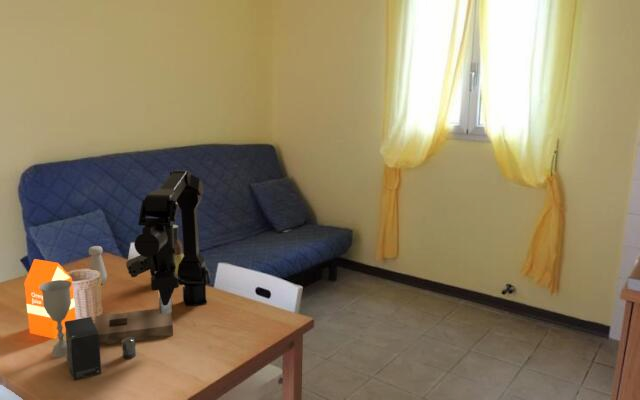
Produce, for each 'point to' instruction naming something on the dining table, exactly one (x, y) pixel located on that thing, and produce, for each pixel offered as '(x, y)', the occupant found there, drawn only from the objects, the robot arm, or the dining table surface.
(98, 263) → the salt shaker
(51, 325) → the orange juice
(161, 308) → the long pin
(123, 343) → the short pin
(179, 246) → the sauce bottle
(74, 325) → the small box
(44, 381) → the dining table surface
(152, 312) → the pin board
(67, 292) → the chalice
